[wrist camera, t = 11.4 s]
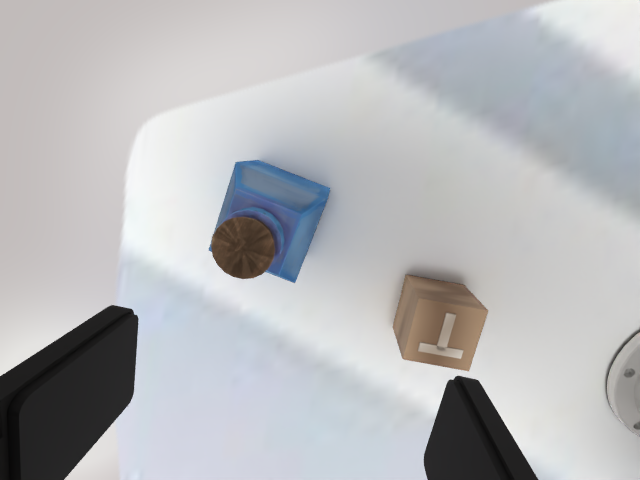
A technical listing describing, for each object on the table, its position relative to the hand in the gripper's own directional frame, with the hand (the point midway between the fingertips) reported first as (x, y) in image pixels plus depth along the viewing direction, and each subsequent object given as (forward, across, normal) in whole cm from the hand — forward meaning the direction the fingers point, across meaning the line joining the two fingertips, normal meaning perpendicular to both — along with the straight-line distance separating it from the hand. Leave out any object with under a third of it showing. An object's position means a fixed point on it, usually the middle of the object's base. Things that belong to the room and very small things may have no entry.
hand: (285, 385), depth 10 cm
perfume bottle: (+20, +4, -2) cm, 20 cm away
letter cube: (+20, -10, +4) cm, 23 cm away
